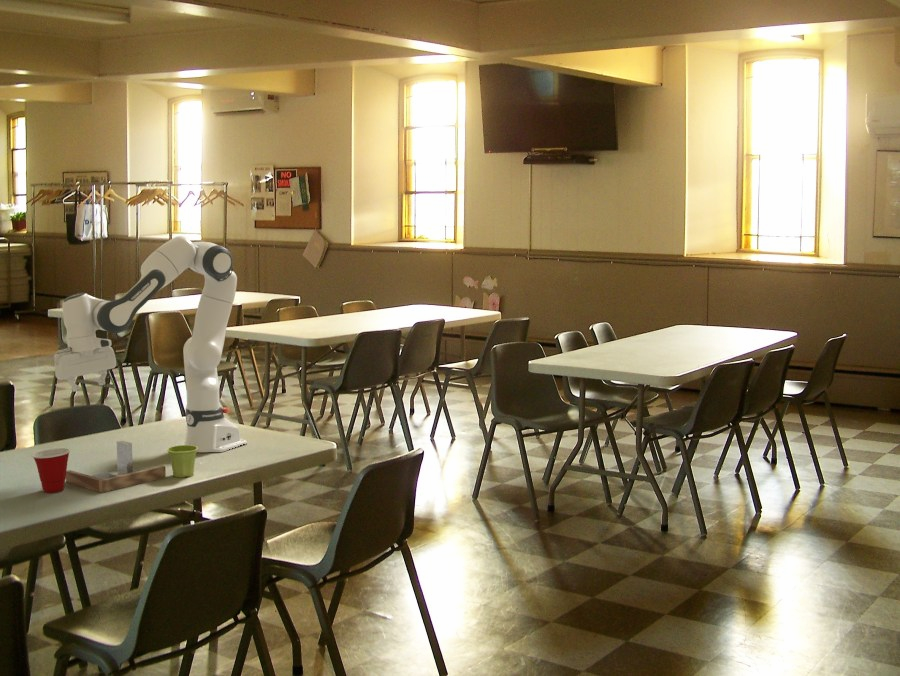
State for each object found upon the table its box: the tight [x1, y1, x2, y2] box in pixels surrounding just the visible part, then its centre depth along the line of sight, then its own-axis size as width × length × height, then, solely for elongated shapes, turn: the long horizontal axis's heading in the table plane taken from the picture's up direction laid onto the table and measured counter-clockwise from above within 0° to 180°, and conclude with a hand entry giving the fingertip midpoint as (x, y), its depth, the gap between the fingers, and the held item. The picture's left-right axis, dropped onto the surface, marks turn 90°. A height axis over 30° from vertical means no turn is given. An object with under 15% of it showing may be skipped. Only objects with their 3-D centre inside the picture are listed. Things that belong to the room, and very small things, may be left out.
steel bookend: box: [109, 440, 134, 478], centre depth 333 cm, size 5×5×11 cm
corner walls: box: [65, 465, 167, 493], centre depth 332 cm, size 23×19×4 cm
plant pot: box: [166, 444, 198, 479], centre depth 338 cm, size 9×9×9 cm
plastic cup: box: [31, 447, 71, 494], centre depth 320 cm, size 11×11×12 cm
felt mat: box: [92, 468, 141, 479], centre depth 334 cm, size 20×16×1 cm
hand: (89, 388), depth 342 cm, fingers open, 8 cm apart
